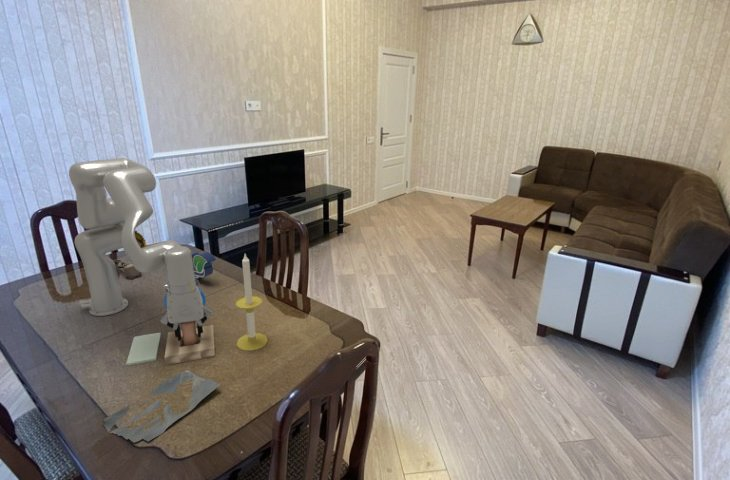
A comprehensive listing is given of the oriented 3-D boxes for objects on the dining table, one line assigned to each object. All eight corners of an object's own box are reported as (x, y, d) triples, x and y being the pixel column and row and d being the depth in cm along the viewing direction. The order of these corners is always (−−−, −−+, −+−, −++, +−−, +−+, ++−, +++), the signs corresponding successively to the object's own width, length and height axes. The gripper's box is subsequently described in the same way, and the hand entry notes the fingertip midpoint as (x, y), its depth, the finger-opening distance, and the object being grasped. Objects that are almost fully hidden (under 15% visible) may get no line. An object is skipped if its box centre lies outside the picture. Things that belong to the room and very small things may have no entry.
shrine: (129, 260, 192) (123, 231, 187) (146, 255, 198) (141, 227, 193) (140, 266, 185) (134, 237, 180) (157, 261, 191) (152, 232, 186)
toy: (128, 256, 184) (140, 257, 174) (132, 272, 185) (144, 274, 175) (111, 260, 179) (122, 262, 169) (116, 277, 180) (127, 279, 170)
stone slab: (136, 458, 90) (133, 451, 89) (101, 429, 98) (98, 422, 97) (221, 390, 109) (220, 384, 108) (186, 371, 117) (185, 365, 116)
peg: (184, 352, 125) (180, 325, 121) (185, 345, 128) (181, 319, 125) (198, 350, 126) (194, 323, 123) (198, 343, 130) (194, 317, 126)
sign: (168, 274, 184) (161, 247, 181) (175, 271, 187) (169, 244, 184) (212, 286, 164) (206, 255, 161) (220, 283, 168) (214, 253, 164)
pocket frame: (165, 365, 119) (164, 357, 118) (169, 340, 131) (168, 332, 130) (214, 356, 124) (213, 348, 123) (213, 332, 136) (212, 325, 135)
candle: (241, 354, 125) (232, 261, 114) (233, 338, 133) (224, 250, 122) (271, 345, 130) (266, 255, 119) (262, 330, 138) (256, 245, 127)
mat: (126, 365, 118) (126, 363, 118) (134, 338, 131) (134, 336, 131) (156, 360, 121) (155, 358, 121) (160, 334, 134) (160, 332, 134)
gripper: (149, 295, 113) (159, 348, 120) (212, 287, 119) (218, 338, 126) (152, 284, 120) (161, 335, 126) (212, 277, 126) (217, 326, 132)
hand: (189, 336), depth 126 cm, fingers open, 5 cm apart
